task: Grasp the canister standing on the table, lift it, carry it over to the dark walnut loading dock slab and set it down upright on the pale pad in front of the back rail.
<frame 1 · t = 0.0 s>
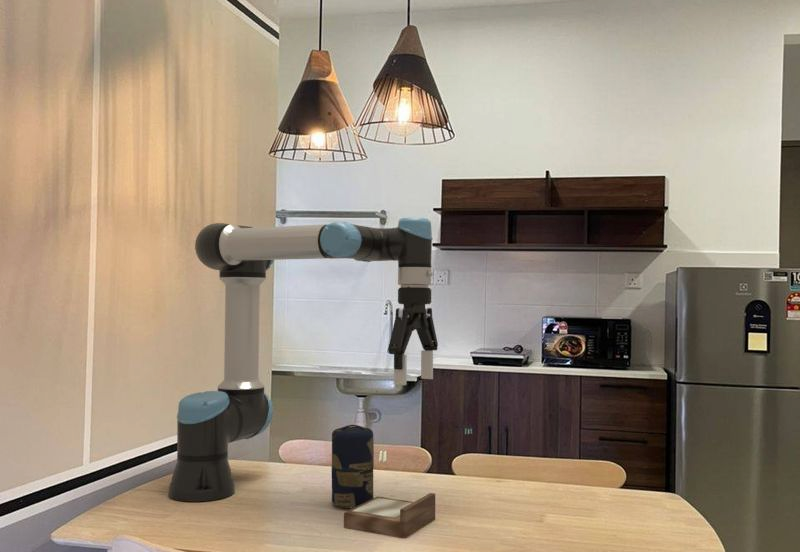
hand: (414, 381, 165), 28 cm above the table, fingers open, 13 cm apart
dock: (390, 523, 153), on the table
canister: (352, 505, 167), on the table
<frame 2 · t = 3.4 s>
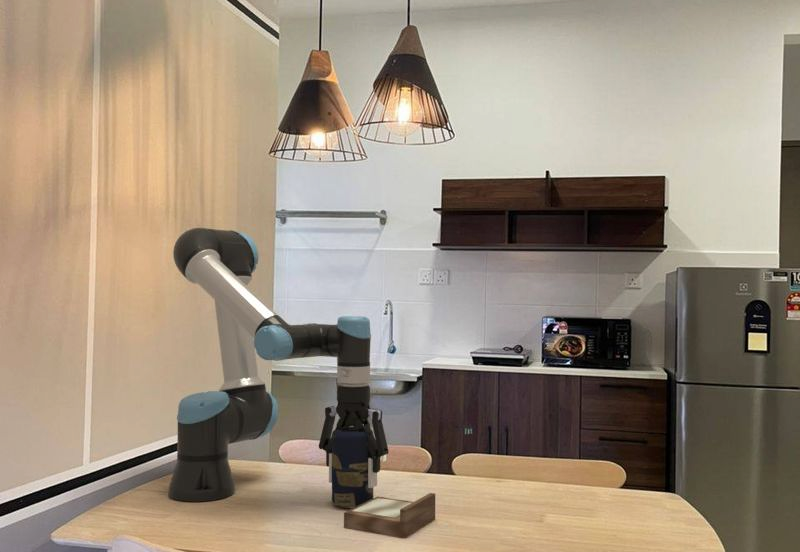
hand: (352, 483, 167), 5 cm above the table, fingers closed on canister, 10 cm apart
canister: (352, 505, 167), on the table, touching gripper
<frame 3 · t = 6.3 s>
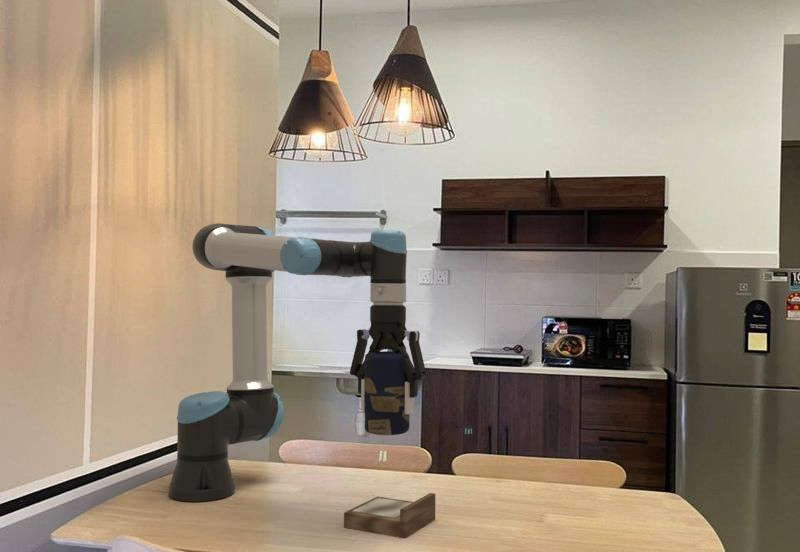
hand: (387, 411, 154), 23 cm above the table, fingers closed on canister, 10 cm apart
canister: (386, 434, 154), point 18 cm above the table, touching gripper
when the fingers open (9 cm above the table, at t = 9.3 s): canister drops 1 cm, resting on dock.
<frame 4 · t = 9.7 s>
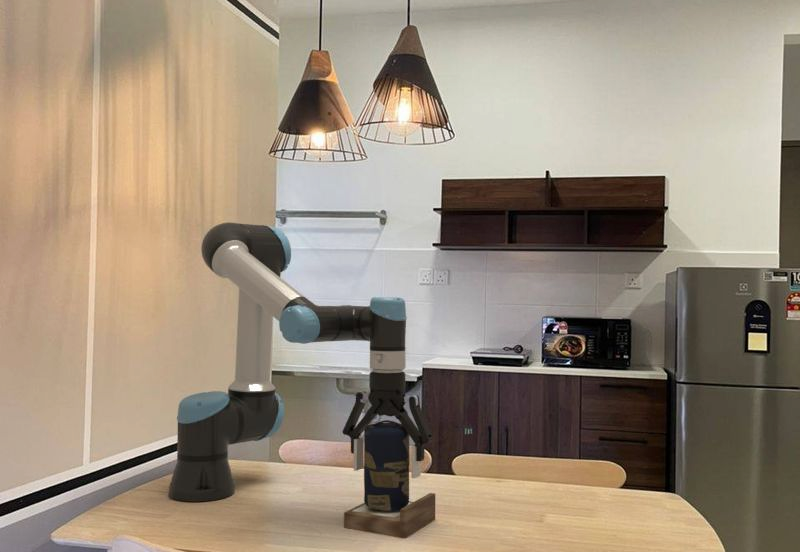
hand: (386, 473, 154), 10 cm above the table, fingers open, 13 cm apart
canister: (386, 508, 154), point 3 cm above the table, touching dock
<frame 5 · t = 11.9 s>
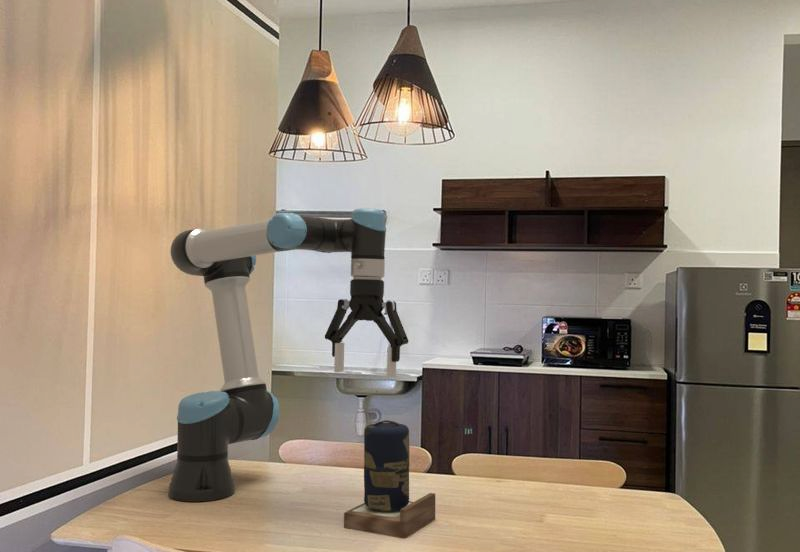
hand: (364, 374, 164), 30 cm above the table, fingers open, 13 cm apart
nothing on the table moved.
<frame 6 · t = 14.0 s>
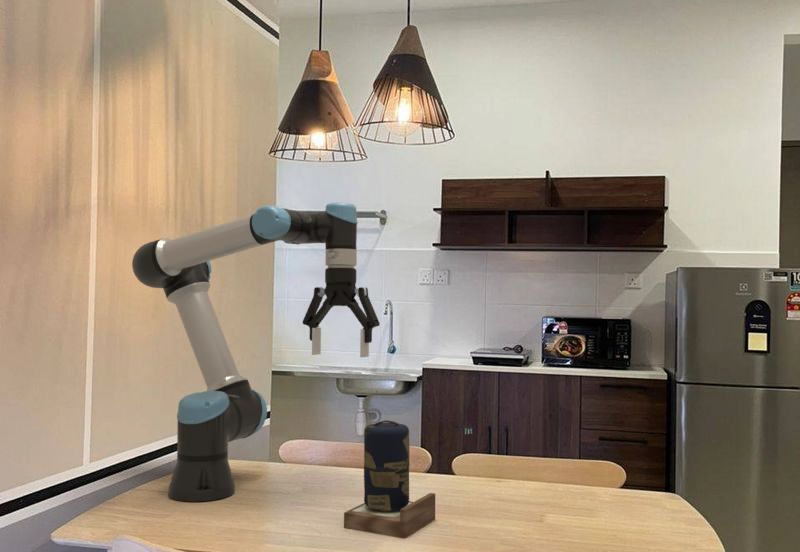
hand: (339, 355, 178), 33 cm above the table, fingers open, 13 cm apart
nothing on the table moved.
at the end: canister inside the target area on the dock (0.2 cm from its centre), point 2.9 cm above the dock's base; canister tilted 0°; the gripper is holding nothing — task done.
